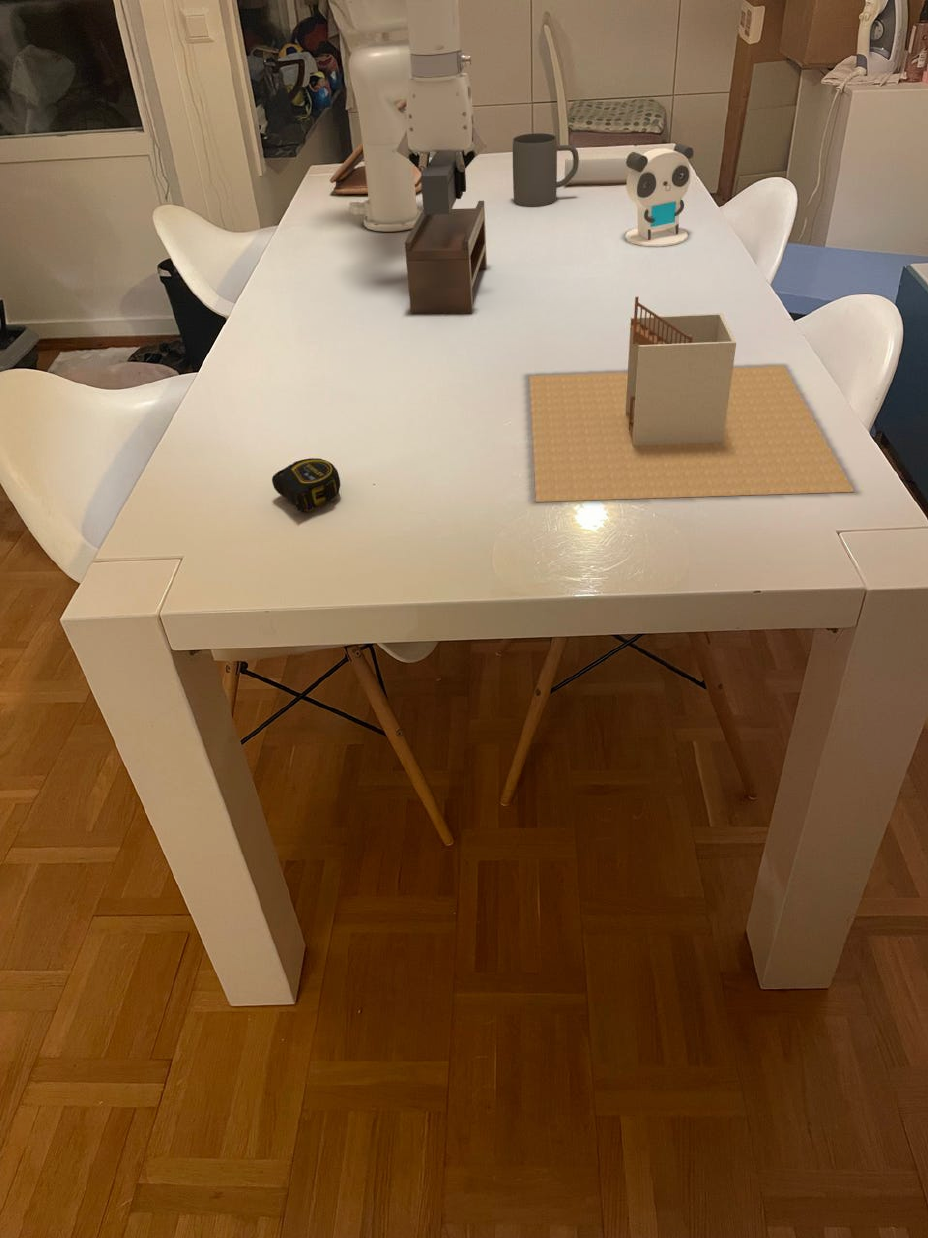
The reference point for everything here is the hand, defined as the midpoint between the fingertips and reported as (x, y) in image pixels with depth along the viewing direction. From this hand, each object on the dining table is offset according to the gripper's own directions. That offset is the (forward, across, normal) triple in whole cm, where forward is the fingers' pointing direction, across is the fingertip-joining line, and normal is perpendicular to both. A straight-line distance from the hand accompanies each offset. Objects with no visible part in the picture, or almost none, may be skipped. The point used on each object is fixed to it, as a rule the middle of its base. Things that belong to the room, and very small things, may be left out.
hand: (444, 195), depth 148 cm
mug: (+15, -13, -52) cm, 56 cm away
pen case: (0, 0, 0) cm, 0 cm away
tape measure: (+16, +7, +68) cm, 70 cm away
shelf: (+15, 0, 0) cm, 15 cm away
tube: (+15, -29, -64) cm, 72 cm away
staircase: (+16, -35, +49) cm, 62 cm away
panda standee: (+15, -35, -26) cm, 46 cm away
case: (+15, +25, -68) cm, 74 cm away
